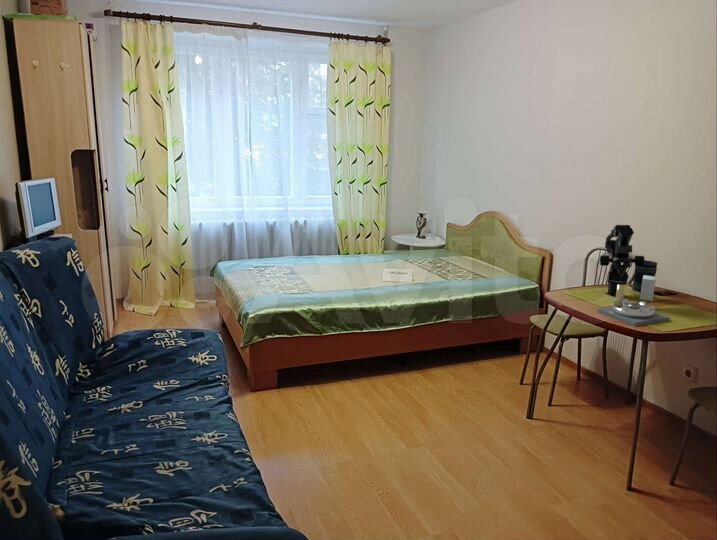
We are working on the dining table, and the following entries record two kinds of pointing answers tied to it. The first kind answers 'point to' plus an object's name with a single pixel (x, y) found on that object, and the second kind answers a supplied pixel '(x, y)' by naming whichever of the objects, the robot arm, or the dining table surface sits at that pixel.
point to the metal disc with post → (631, 306)
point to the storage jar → (643, 273)
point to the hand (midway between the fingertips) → (621, 276)
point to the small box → (647, 287)
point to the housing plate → (634, 321)
